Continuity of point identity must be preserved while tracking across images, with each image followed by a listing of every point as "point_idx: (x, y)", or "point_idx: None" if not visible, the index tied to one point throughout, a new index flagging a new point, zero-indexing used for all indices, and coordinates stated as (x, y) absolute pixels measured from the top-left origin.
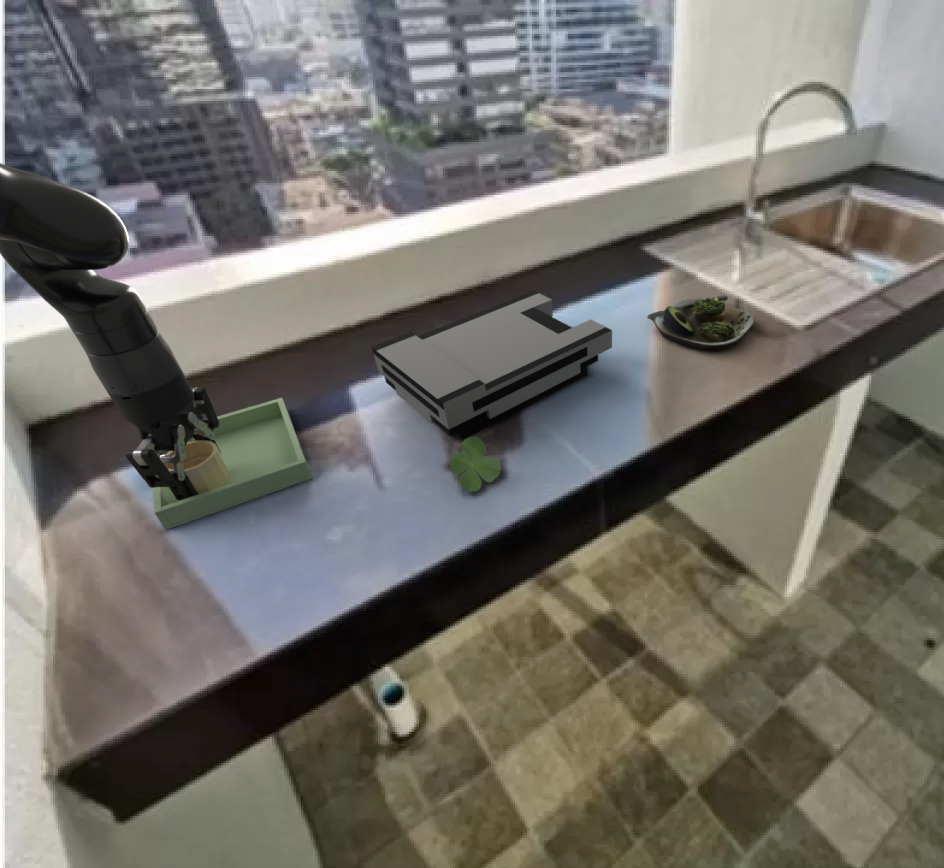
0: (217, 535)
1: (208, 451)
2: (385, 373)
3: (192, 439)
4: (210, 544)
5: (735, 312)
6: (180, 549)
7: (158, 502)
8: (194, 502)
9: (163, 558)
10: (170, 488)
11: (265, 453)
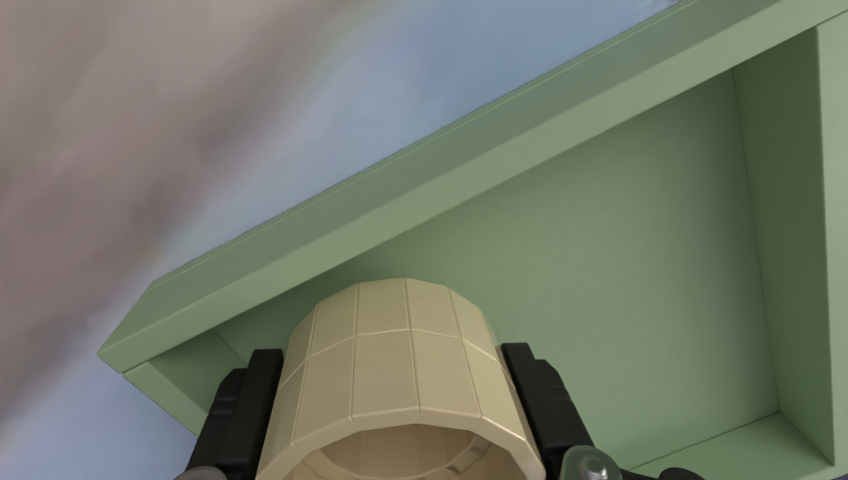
0: (164, 437)
1: (500, 456)
2: None
3: (561, 467)
4: (121, 435)
5: None
6: (72, 368)
7: (172, 337)
8: None
9: (12, 337)
10: (195, 447)
11: None
